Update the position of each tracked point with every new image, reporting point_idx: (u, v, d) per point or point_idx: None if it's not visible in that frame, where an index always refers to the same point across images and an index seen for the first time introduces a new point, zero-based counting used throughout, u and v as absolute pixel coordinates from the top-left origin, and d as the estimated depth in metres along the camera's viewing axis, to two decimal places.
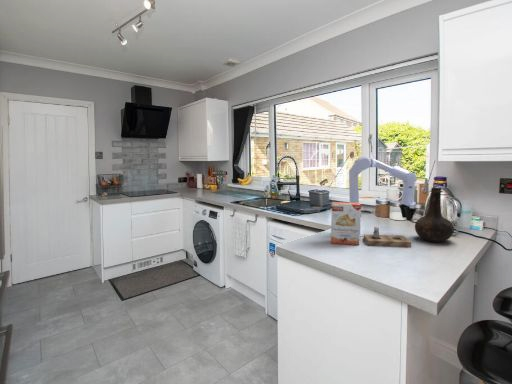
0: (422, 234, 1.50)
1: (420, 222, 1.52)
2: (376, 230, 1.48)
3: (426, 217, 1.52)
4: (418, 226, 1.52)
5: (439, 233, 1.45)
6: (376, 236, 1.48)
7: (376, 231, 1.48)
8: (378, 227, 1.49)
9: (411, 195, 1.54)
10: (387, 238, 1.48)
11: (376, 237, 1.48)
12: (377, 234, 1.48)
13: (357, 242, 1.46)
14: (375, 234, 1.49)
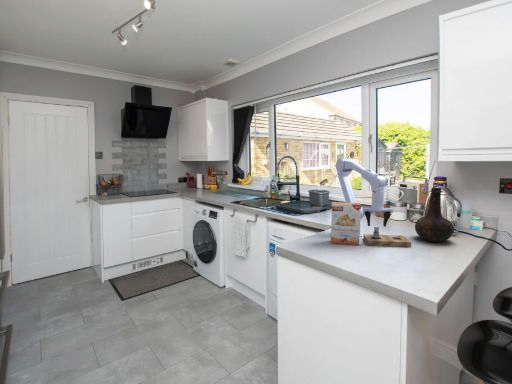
0: (422, 234, 1.50)
1: (420, 222, 1.52)
2: (376, 230, 1.48)
3: (426, 217, 1.52)
4: (418, 226, 1.52)
5: (439, 233, 1.45)
6: (376, 236, 1.48)
7: (376, 231, 1.48)
8: (378, 227, 1.49)
9: (372, 200, 1.47)
10: (387, 238, 1.48)
11: (376, 237, 1.48)
12: (377, 234, 1.48)
13: (357, 242, 1.46)
14: (375, 234, 1.49)
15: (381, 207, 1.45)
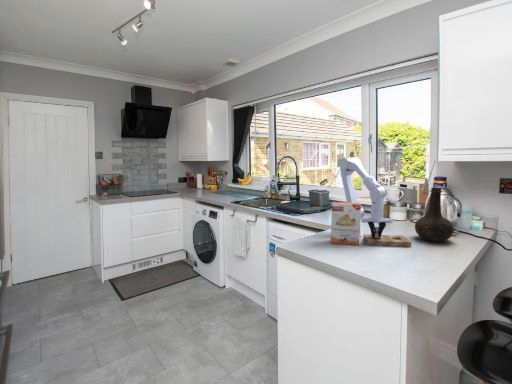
0: (422, 234, 1.50)
1: (420, 222, 1.52)
2: (376, 230, 1.48)
3: (426, 217, 1.52)
4: (418, 226, 1.52)
5: (439, 232, 1.45)
6: (376, 236, 1.48)
7: (376, 231, 1.48)
8: (378, 227, 1.49)
9: (372, 211, 1.48)
10: (387, 238, 1.48)
11: (376, 237, 1.48)
12: (377, 234, 1.48)
13: (357, 242, 1.46)
14: (375, 234, 1.49)
15: (380, 218, 1.46)
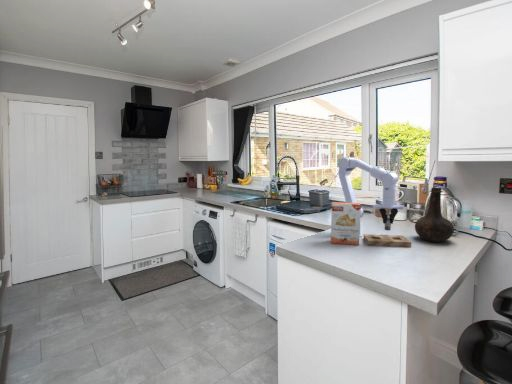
0: (422, 234, 1.50)
1: (420, 222, 1.52)
2: (388, 217, 1.46)
3: (426, 217, 1.52)
4: (418, 226, 1.52)
5: (439, 233, 1.45)
6: (388, 223, 1.47)
7: (388, 218, 1.47)
8: (390, 214, 1.47)
9: (383, 197, 1.46)
10: (387, 238, 1.48)
11: (388, 224, 1.47)
12: (389, 221, 1.46)
13: (357, 242, 1.46)
14: (387, 221, 1.47)
15: (392, 204, 1.44)
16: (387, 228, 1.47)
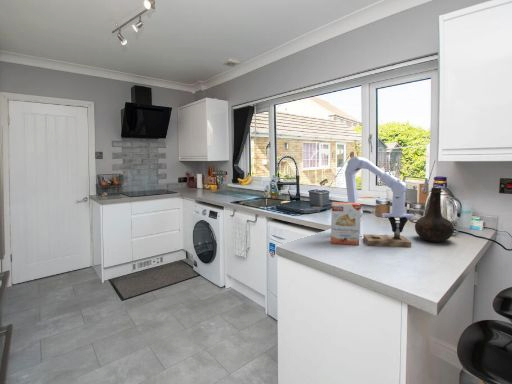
0: (422, 234, 1.50)
1: (420, 222, 1.52)
2: (397, 226, 1.46)
3: (426, 217, 1.52)
4: (418, 226, 1.52)
5: (439, 233, 1.45)
6: (397, 232, 1.46)
7: (397, 227, 1.46)
8: (399, 223, 1.47)
9: (393, 206, 1.46)
10: (387, 238, 1.48)
11: (397, 233, 1.46)
12: (398, 230, 1.46)
13: (357, 242, 1.46)
14: (396, 230, 1.47)
15: (402, 213, 1.44)
16: (396, 237, 1.47)
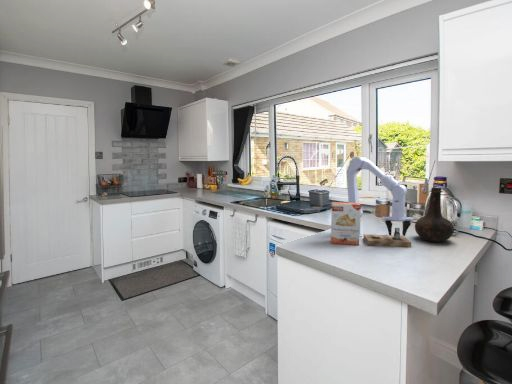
0: (422, 234, 1.50)
1: (420, 222, 1.52)
2: (397, 231, 1.47)
3: (426, 217, 1.52)
4: (418, 226, 1.52)
5: (439, 233, 1.45)
6: (397, 237, 1.47)
7: (397, 232, 1.47)
8: (399, 228, 1.47)
9: (392, 209, 1.46)
10: (387, 238, 1.48)
11: (397, 238, 1.47)
12: (398, 235, 1.47)
13: (357, 242, 1.46)
14: (396, 235, 1.47)
15: (402, 216, 1.44)
16: None
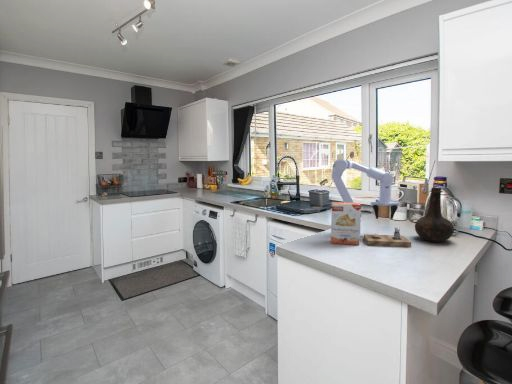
0: (422, 234, 1.50)
1: (420, 222, 1.52)
2: (397, 231, 1.47)
3: (426, 217, 1.52)
4: (418, 226, 1.52)
5: (439, 233, 1.45)
6: (397, 237, 1.47)
7: (397, 232, 1.47)
8: (399, 228, 1.47)
9: (380, 194, 1.59)
10: (387, 238, 1.48)
11: (397, 238, 1.47)
12: (398, 235, 1.47)
13: (357, 242, 1.46)
14: (396, 235, 1.47)
15: (388, 201, 1.57)
16: None
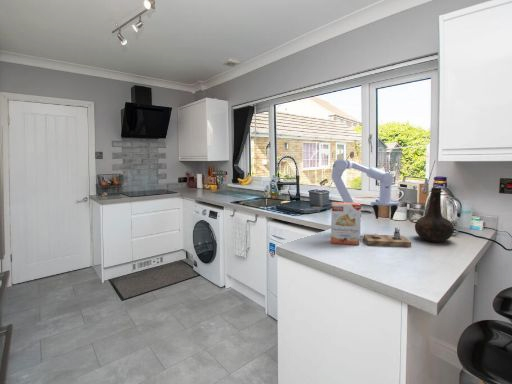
0: (422, 234, 1.50)
1: (420, 222, 1.52)
2: (397, 231, 1.47)
3: (426, 217, 1.52)
4: (418, 226, 1.52)
5: (439, 233, 1.45)
6: (397, 237, 1.47)
7: (397, 232, 1.47)
8: (399, 228, 1.47)
9: (380, 194, 1.59)
10: (387, 238, 1.48)
11: (397, 238, 1.47)
12: (398, 235, 1.47)
13: (357, 242, 1.46)
14: (396, 235, 1.47)
15: (388, 201, 1.57)
16: None
